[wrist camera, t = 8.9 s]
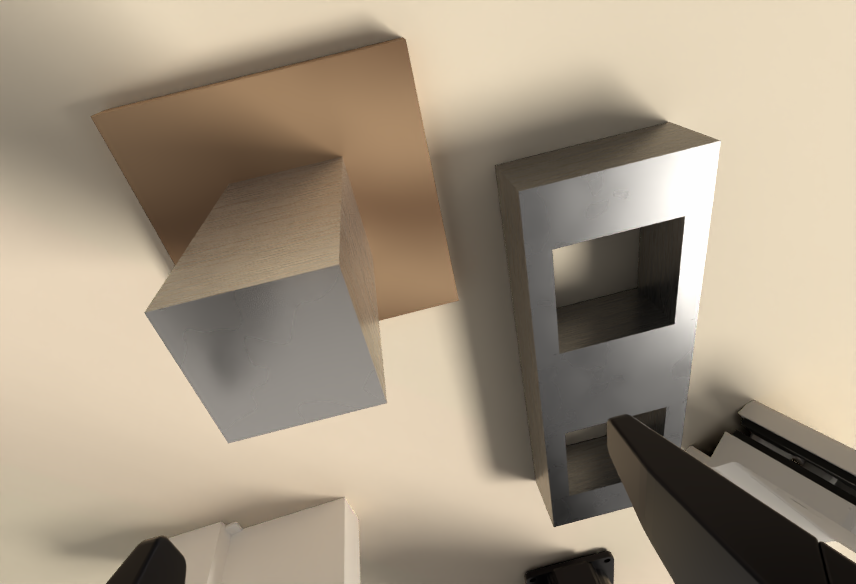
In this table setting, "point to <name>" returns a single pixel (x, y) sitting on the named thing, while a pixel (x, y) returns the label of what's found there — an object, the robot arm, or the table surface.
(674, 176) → the grey cinder block
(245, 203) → the steel plug
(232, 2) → the table surface
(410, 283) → the walnut pad
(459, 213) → the table surface
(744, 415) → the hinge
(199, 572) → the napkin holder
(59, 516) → the table surface
